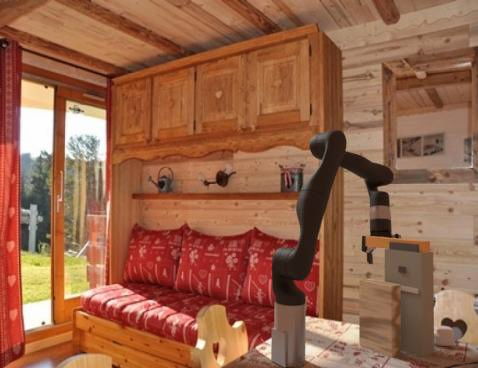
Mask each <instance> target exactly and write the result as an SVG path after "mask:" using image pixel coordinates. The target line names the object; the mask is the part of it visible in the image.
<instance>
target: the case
mask: <svg viewBox="0 0 478 368" xmlns="http://www.w3.org/2000/svg"><path fill="white" fill-rule="evenodd" d="M384 282H388V283H393V284H398V285H401V352H404V353H407V354H409V355H412V356H415V357H418V358H421V359H423V358H426V357H429V356H431V355H434V354H435V343H434V326H435V310H434V309H435V307H434V306H435V305H434V303H435V302H434V301H435V300H434V299H435V297H434V295H435V294H434V293H435V292H434V291H435V289H434V286H435V285H434V252H433V251H430V252H428V253H421V252H419V244H408V243H398V242H389V249H385V248H384Z"/></svg>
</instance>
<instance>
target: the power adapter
mask: <svg viewBox="0 0 478 368" xmlns="http://www.w3.org/2000/svg"><path fill="white" fill-rule="evenodd" d="M435 344H436V346H439V347H454V345H455V330H454V328H452V327H450V326H447V325H434V345H435Z"/></svg>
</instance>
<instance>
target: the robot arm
mask: <svg viewBox="0 0 478 368" xmlns="http://www.w3.org/2000/svg"><path fill="white" fill-rule="evenodd" d="M347 141H348V140H347V137H346V134H345V133H344V132H343V131H342V130H339V129H333V130H328V131H323V132H319V133H316V134H315V135H313V136H312V137H311V138H310V140H309V147H308V148H309V151H310V153H311V155H312V156H313V157H314V158H315V159H317V160H320V161H321V162H320V164H319V165H318V167H317V168H316V169H315V170H314V172H313V173H312V174H311V175H310V177H308V178H307V180H306V181H305V182H304V184H303V185H302V187H301V189H300V192H299V194H298V198H297V201H296V206H295V210H296V211H295V213H296V216H297V220H298V224H299V231H300V232H299V238H298V242H297V245H296V248H293V247H285V246H283V247H278V248H277V249H276V250H275V251H274V253H273V256H272V259H271V286H272V287H271V288H272V293H273V296H274V312H273V313H274V315H273V316H274V317H273V319H274V320H273V321H274V324H273V327H272V328H271V342H270V343H271V348H270V351H271V352H270V354H271V355H270V359H271V360H270V361H271V362H273V363H275V364H277V365H279V366H280V367H283V368H298V367H301V366H304V365H305V364H306V320H307V319H306V314H307V313H306V312H307V311H306V309H307V308H306V307H307V302H306V301H307V300H306V299H307V296H306V294H305V292H304V291H303V290H302V289H301V288H299V287H298V286H297V284H296V283H295V282H296V281H297V282H304V281H305V280H306V279H307V278H308V277H309V276H310V273H311V271H312V268H313V264H314V260H315V256H316V249H317V245H318V239H319V234H320V230H321V227H322V222H323V220H324V216H325V213H326V210H327V207H328V203H329V199H330V195H331V193H332V188H333V185H334V182H335V179H336V176H337V174H338V170H339V169H340V168H342V169H344V170H346V171H349V172H351V173H352V174H354V175H356V176H357V177H359V178H361V179H364V184H365V187H366V190H367V194H368V197H369V213H368V214H369V233H370V234H369V236H374V237H386V238H398V239H402V235H401V234H400V233H395V234H392V213H391V205H390V194H389V192H387V191H385V190H383V191H382V190H379V188H378V187H384V186H388V185H390V184H392V182H394V172H393V171H392V169H391V168H390V167H388V166H386V165H385V164H381V163H377V162H374V161H373V162H372V161H371V160H370V159H368V158H366V157H365V156H363V155H361V154H359V153H354V152H350V151H347V150H346V149H347V144H348V143H347ZM366 237H367V236H365V235H362V236H361V252H363V253H365V254H366V262H367V263H368V264H369V265H373V264H374V258H373V253H374V251H375V250H377V248H376V247H368V246H366Z"/></svg>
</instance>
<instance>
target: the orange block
mask: <svg viewBox="0 0 478 368" xmlns="http://www.w3.org/2000/svg"><path fill="white" fill-rule="evenodd" d="M389 242H398V243H408V244H419V252H421V253H428V252H431V241H430V240H418V239H408V238H401V239H398V238H386V237H374V236H370V235H369V236H367V237H366V246H368V247H376V249H377V248H378V249H384V250H385V249H389Z"/></svg>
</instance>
